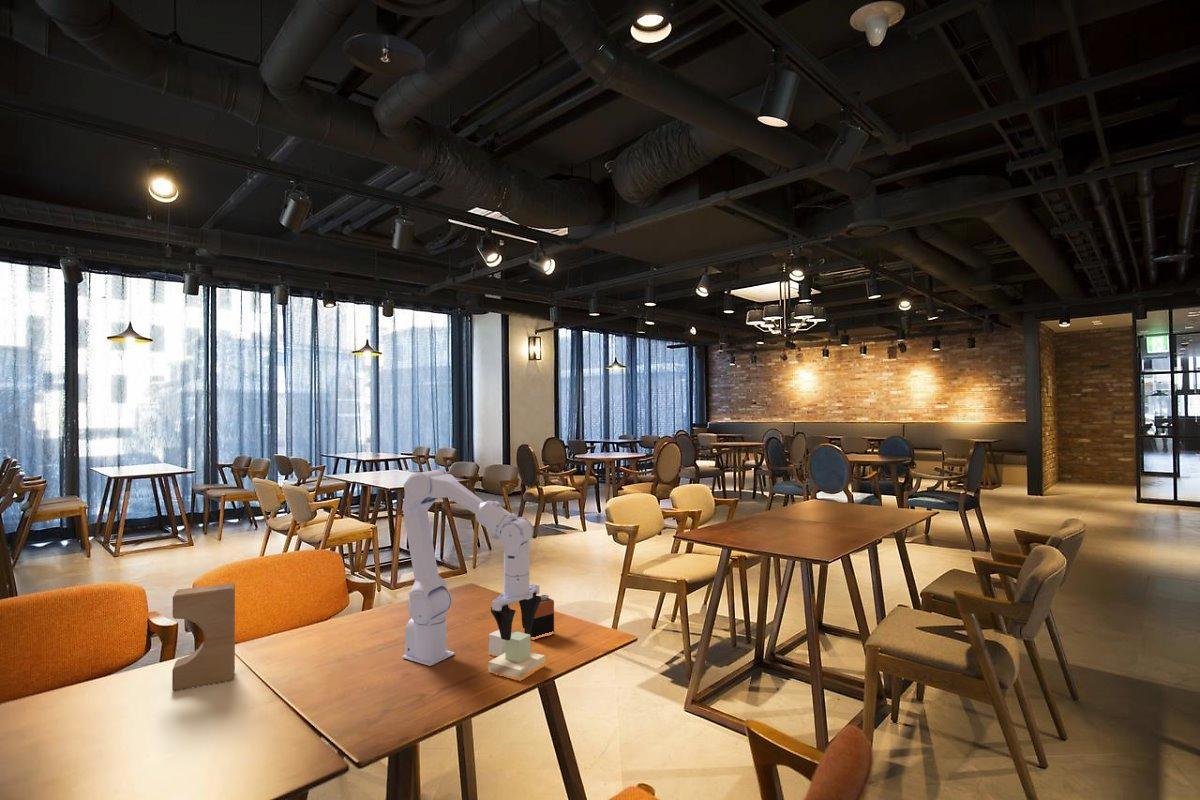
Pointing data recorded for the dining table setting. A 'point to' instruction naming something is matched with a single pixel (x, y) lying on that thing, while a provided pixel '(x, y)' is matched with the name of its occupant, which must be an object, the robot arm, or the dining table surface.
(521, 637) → the sage block
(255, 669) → the dining table surface
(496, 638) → the grey block
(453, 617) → the dining table surface
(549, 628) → the battery
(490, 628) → the dining table surface
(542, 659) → the birch base block
